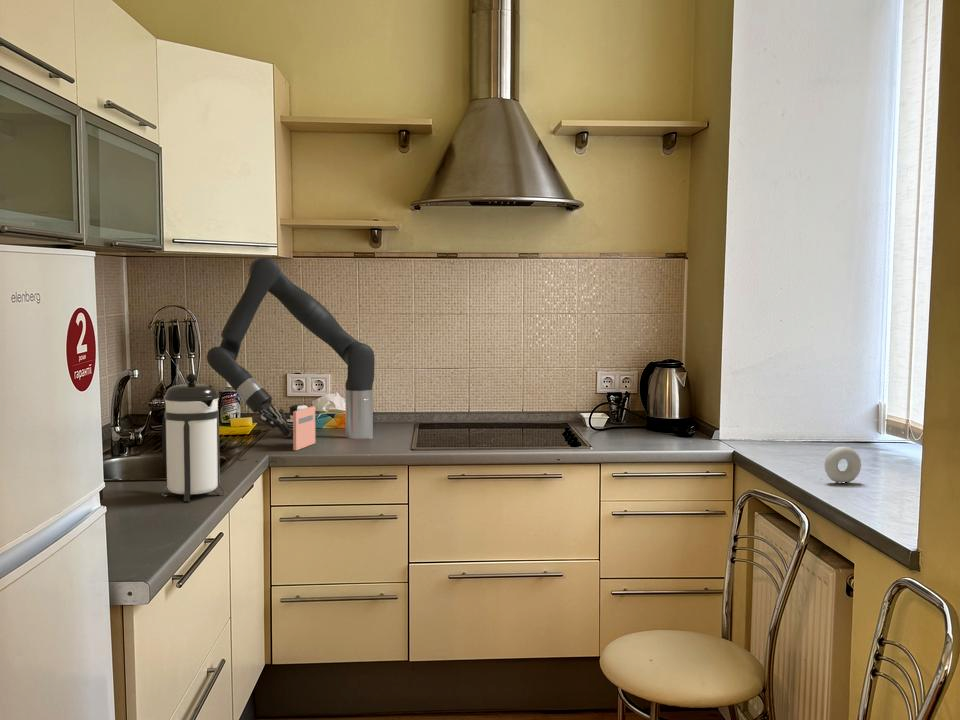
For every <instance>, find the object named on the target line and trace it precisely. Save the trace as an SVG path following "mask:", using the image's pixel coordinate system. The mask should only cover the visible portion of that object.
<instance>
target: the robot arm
mask: <svg viewBox="0 0 960 720" xmlns="http://www.w3.org/2000/svg"><path fill="white" fill-rule="evenodd" d="M248 270H249V271H248V273H249V279H248V281H247V284H246V286H245V289H244V292H243V294H242V295H241V297H240V298H239V301H238V302H237V304H236V305H235V307H234V308H233V310H232V312H231V313H230V315H229V317H228V319H227V321H226V323H225V325H224V326H223V329H222V331H221V338H222V339H221V342H220V345H219V346H213V347H211V348H210V349H209V350H208V351H207V354H206V361H207V363H208V366H210V367H211V368H212V369H213V370H214V371H215V372H216V373H217V374H218V375H219V376H220V377H221V378H223V379H224V380H225V381H226V382H227V383H228V385H230V387H231V388H232V389H233V390H234V391H235V392H236V394H237V396H239V398H240V399H241V400H242V401H243V403H244V404H246V406H247V407H248V408H249V409H250V411H252V413H254V414H259V415H260V417H259V418H258V419H259V421H260V422H262V423H264V424H266V425H268V427H271V428H273V429H277V430H279V432H281V434H282V435H283V436H284V438H285V437H287V436H289V435H290V434H291V433H292V431H291V430H290V429H289V427H288V426H287V425H286V424H285V423H286V421H287V420H288V418H287V417H286V415H285V411H284V409H282V408H280V409H278V408H277V407H276V406H275V405H274V404H273V403H272V401H273V397H272V395H271V394H269V392H268V391H267V390H266V389H265V387H263V385H262V384H260V382H259V381H258V380H257V379H256V378H254V377H253V376H252V375H251V373H250V372H249V371H248V370H247V369H246V368H245V367H243V365H242V366H241V365H240V364H239V363H238V362H237V359H238V356H239V352H240V349H241V347H242V346H241V345H242V342H243V340H244V338H245V336H246V335H247V332H248V330H249V328H250V326H251V324H252V322H253V320H254V318H255V316H256V313H257V311H258V310H259V307H260V305H261V303H262V301H263V299H265V296H266V295H267V293H270V294H271V295H272V296H274V298H276V299H277V300H278V301H279V302H280V303H281V305H283V307H285V309H287V311H288V312H289V313H290V314H291V315H292V316H293V317H294V318H295V319H296V320H297V321H298V322H300V324H301V325H302V326H304V328H306V329H307V330H308V331H309V332H311V333H312V334H313V335H314V336H316V337H317V338H318V339H320V340H321V341H322V342H324V343H325V344H327V345H328V346H329V347H331V349H332V350H333V351H334V352H335V353H336V354H337V355H338V356H339V357H340V358H341V360H342V361H343V362H344V363H345V364H346V365H347V374H346V375H347V376H346V377H347V378H346V381H345V390H344V391H345V393H344V394H345V395H344V396H345V438H347V439H352V440H353V439H354V440H360V439H371V440H372V439H373V438H374V433H373V432H374V431H373V430H374V428H373V427H374V426H373V424H374V423H373V420H374V419H373V418H374V417H373V412H374V411H373V410H374V409H373V408H374V406H373V405H374V404H373V400H374V398H373V397H374V396H373V392H374V391H373V390H374V388H373V384H374V383H375V382H374V381H375V366H376V365H375V353H374V350H373V349H372V347H371V346H370V345H368V344H367V343H364V342H360V341H359V340H357V339H356V338H354V337H353V336H352V335H351V334H349V333H348V332H347V331H346V330H345V329H343V327H342V326H341V324H340V323H338V320H337V319H336V317H334V316H333V315H332V313H331V312H330V311H329V310H328V309H327V307H325V306H324V305H323V304H322V303H321V302H320V301H318V300H317V299H316V298H315V297H313V296H312V295H311V294H309V293H308V292H306V291H305V290H304V289H302V288H301V287H299V286H298V285H296V284H295V283H293V282H292V280H290V279H289V278H288V277H287V276H286V275H285V274H284V273H283V272H282V271H281V269H280V267H279V264H278V263H277V262H276V260H275V259H273V258H270V257H266V256H265V257H264V256H263V257H258V258H256V259H254V260H253V261H252V262H251V263H250V265H249V269H248Z"/></svg>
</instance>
